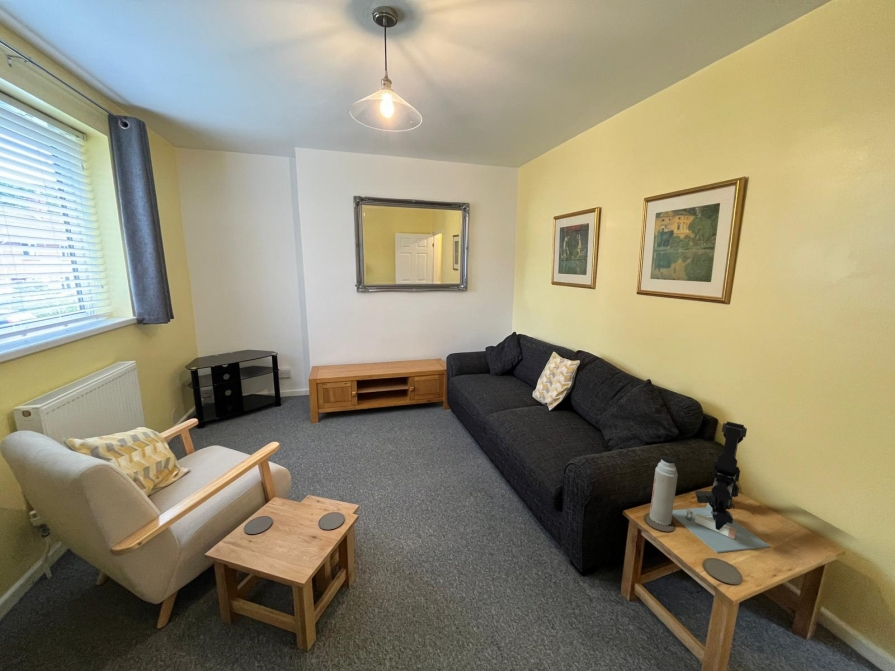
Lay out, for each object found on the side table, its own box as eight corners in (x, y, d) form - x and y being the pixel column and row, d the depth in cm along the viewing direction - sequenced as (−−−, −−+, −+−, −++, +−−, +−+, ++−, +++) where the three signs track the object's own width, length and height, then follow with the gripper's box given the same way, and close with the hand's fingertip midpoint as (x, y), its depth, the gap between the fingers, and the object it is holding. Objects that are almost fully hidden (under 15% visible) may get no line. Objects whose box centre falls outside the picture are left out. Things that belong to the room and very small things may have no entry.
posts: (710, 509, 157) (711, 501, 156) (718, 514, 154) (719, 506, 153) (681, 517, 151) (682, 508, 150) (689, 522, 148) (690, 513, 147)
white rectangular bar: (694, 522, 147) (695, 515, 146) (696, 519, 148) (697, 513, 148) (734, 539, 137) (735, 532, 137) (735, 536, 139) (736, 529, 138)
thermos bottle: (647, 518, 149) (654, 458, 145) (652, 510, 155) (660, 451, 151) (668, 528, 144) (676, 465, 140) (673, 519, 149) (681, 458, 145)
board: (713, 507, 158) (713, 506, 158) (769, 547, 135) (769, 545, 135) (667, 511, 154) (667, 510, 154) (716, 552, 131) (716, 551, 131)
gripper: (696, 474, 153) (690, 507, 155) (700, 493, 137) (694, 530, 139) (727, 483, 148) (722, 517, 149) (736, 504, 132) (729, 541, 134)
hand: (716, 525), depth 143 cm, fingers open, 5 cm apart
